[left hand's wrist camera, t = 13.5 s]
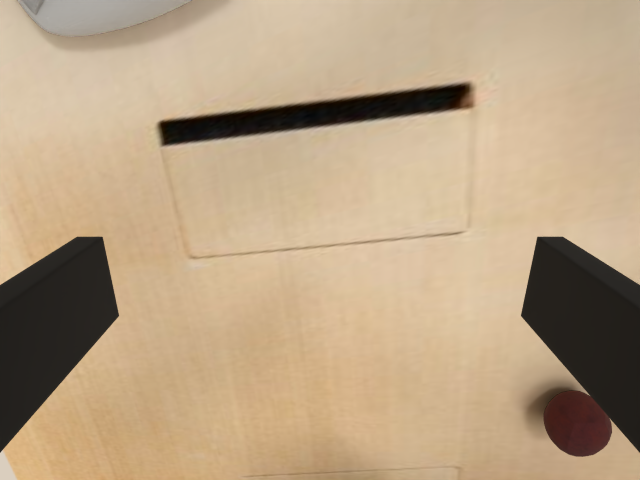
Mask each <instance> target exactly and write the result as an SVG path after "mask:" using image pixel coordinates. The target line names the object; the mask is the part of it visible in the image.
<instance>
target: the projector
mask: <svg viewBox="0 0 640 480" xmlns="http://www.w3.org/2000/svg"><path fill="white" fill-rule="evenodd" d="M17 1H18V2H19V3H20V5H21V6H22V7H23V9H24V10H25V11H26V12H27V14H28V15H29V16H30V17H31V18H32V19H33V20H34V21H35V23H37V24H38V25H39V26H40V27H41V28H42V29H44V30H45V31H47V32H50V33H53V34H56V35H61V36H72V37H76V36H88V35H95V34H101V33H106V32H110V31H115V30H119V29H123V28H127V27H130V26H133V25H137V24H140V23H143V22H145V21H148V20H151V19H154V18H156V17H158V16H161V15H163V14H165V13H168V12H170V11H172V10H174V9H176V8H178V7H180V6H182V5H184V4H186V3H188V2H190V1H192V0H17Z"/></svg>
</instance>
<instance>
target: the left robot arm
mask: <svg viewBox="0 0 640 480" xmlns="http://www.w3.org/2000/svg"><path fill="white" fill-rule="evenodd" d="M118 316H119V313H118V309H117V304H116V299H115V294H114V289H113V285H112V280H111V275H110V270H109V265H108V261H107V256H106V251H105V246H104V241H103V237H76V238H75V239H73V240H71V241H70V242H68V243H67V244H65V245H63V246H62V247H60V248H59V249H57V250H55V251H54V252H52V253H51V254H49V255H47V256H46V257H44V258H43V259H41V260H39V261H38V262H36V263H35V264H33V265H31V266H30V267H28V268H27V269H25V270H24V271H22V272H20V273H19V274H17V275H16V276H14V277H12V278H11V279H9V280H8V281H6V282H4V283H3V284H1V285H0V452H1V451H2V450H3V449H4V448H5V446H6V445H7V444H8V443H9V442H10V441H11V440H12V438H13V437H14V436H15V435H16V434H17V433H18V432H19V430H20V429H21V428H22V427H23V426H24V425H25V423H26V422H27V421H28V420H29V419H30V418H31V417H32V415H33V414H34V413H35V412H36V411H37V410H38V409H39V407H40V406H41V405H42V404H43V403H44V402H45V400H46V399H47V398H48V397H49V396H50V395H51V394H52V392H53V391H54V390H55V389H56V388H57V387H58V385H59V384H60V383H61V382H62V381H63V380H64V379H65V377H66V376H67V375H68V374H69V373H70V372H71V371H72V369H73V368H74V367H75V366H76V365H77V364H78V362H79V361H80V360H81V359H82V358H83V357H84V356H85V354H86V353H87V352H88V351H89V350H90V349H91V348H92V346H93V345H94V344H95V343H96V342H97V341H98V339H99V338H100V337H101V336H102V335H103V334H104V333H105V331H106V330H107V329H108V328H109V327H110V326H111V324H112V323H113V322H114V321H115V320H116V319H117V318H118ZM521 316H522V318H523V319H524V320H525V321H526V322H527V323H528V324H529V326H530V327H531V328H532V329H533V330H534V331H535V333H536V334H537V335H538V336H539V337H540V338H541V339H542V341H543V342H544V343H545V344H546V345H547V346H548V348H549V349H550V350H551V351H552V352H553V353H554V354H555V356H556V357H557V358H558V359H559V360H560V361H561V362H562V364H563V365H564V366H565V367H566V368H567V369H568V371H569V372H570V373H571V374H572V375H573V376H574V377H575V379H576V380H577V381H578V382H579V383H580V384H581V385H582V387H583V388H584V389H585V390H586V391H587V392H588V394H589V395H590V396H591V397H592V398H593V399H594V400H595V402H596V403H597V404H598V405H599V406H600V407H601V409H602V410H603V411H604V412H605V413H606V414H607V415H608V417H609V418H610V419H611V420H612V421H613V422H614V423H615V425H616V426H617V427H618V428H619V429H620V430H621V432H622V433H623V434H624V435H625V436H626V437H627V438H628V440H629V441H630V442H631V443H632V444H633V445H634V446H635V448H636V449H637V450H638V451H639V452H640V285H639V284H637V283H636V282H634V281H632V280H631V279H629V278H628V277H626V276H624V275H623V274H621V273H620V272H618V271H616V270H615V269H613V268H612V267H610V266H609V265H607V264H605V263H604V262H602V261H601V260H599V259H597V258H596V257H594V256H593V255H591V254H589V253H588V252H586V251H585V250H583V249H581V248H580V247H578V246H577V245H575V244H573V243H572V242H570V241H569V240H567V239H565V238H564V237H537V241H536V246H535V251H534V256H533V261H532V265H531V270H530V275H529V280H528V285H527V289H526V294H525V299H524V304H523V309H522V313H521Z"/></svg>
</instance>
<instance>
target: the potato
mask: <svg viewBox="0 0 640 480" xmlns="http://www.w3.org/2000/svg"><path fill="white" fill-rule="evenodd" d="M544 424H545V428H546V431H547V433H548V435H549V437H550V439H551V440H552V441H553V443H554V444H555V445H556V446H557V447H558V448H559V449H560V450H562V451H564V452H566V453H567V454H569V455H573V456H582V457H583V456H589V455H594V454H595V453H597V452H599V451H600V450H602V449H603V448H604V447H605V446H606V445H607V444H608V442H609V440H610V437H611V433H612V426H611V421H610V418H609V417H608V415H607V414H606V413H605V412H604V411H603V410H602V409H601V407H600V406H599V405H598V404H597V403H596V402H595V400H594V399H593V398H592V397H591V396H589V395H587V394H585V393H583V392H580V391H573V390H571V391H566V392H562V393H560V394H558V395H556V396H555V397H554V398H553V399H552V400H551V401H550V402H549V404H548V405H547V407H546V409H545V412H544Z"/></svg>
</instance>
